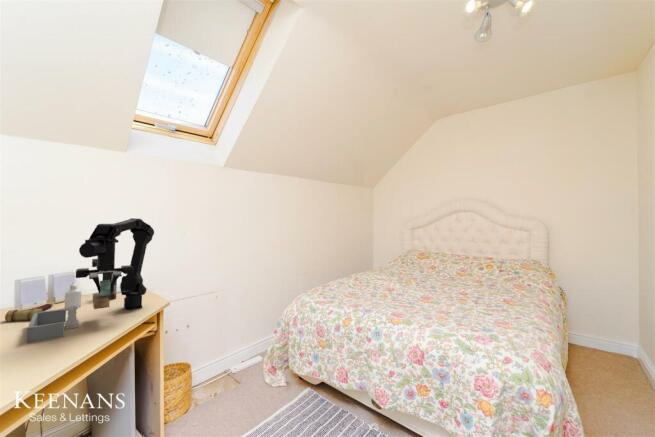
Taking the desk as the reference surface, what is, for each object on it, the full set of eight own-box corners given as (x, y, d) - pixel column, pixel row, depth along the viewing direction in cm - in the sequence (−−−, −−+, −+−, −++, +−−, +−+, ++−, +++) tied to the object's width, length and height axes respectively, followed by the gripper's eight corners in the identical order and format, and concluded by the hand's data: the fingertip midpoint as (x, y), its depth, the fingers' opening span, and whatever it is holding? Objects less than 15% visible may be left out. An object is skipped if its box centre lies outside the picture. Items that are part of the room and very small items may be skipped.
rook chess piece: (70, 324, 115) (70, 304, 115) (82, 324, 115) (82, 304, 115) (60, 329, 110) (61, 308, 110) (73, 329, 111) (73, 308, 111)
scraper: (108, 298, 126) (108, 277, 126) (111, 306, 115) (111, 284, 115) (92, 300, 122) (92, 279, 122) (93, 309, 112) (93, 286, 111)
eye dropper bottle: (67, 306, 135) (67, 281, 135) (82, 305, 138) (83, 280, 138) (63, 309, 131) (63, 283, 131) (78, 308, 134) (79, 282, 134)
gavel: (39, 300, 135) (65, 299, 138) (38, 310, 134) (64, 309, 137) (4, 311, 115) (36, 310, 118) (4, 323, 114) (35, 321, 117)
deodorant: (104, 297, 152) (105, 269, 152) (117, 297, 154) (118, 268, 154) (99, 300, 146) (100, 271, 146) (113, 300, 148) (114, 271, 148)
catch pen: (65, 320, 119) (65, 308, 119) (63, 336, 104) (64, 322, 104) (33, 325, 113) (34, 312, 113) (26, 343, 98) (27, 328, 98)
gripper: (130, 251, 131) (129, 285, 131) (76, 253, 119) (75, 290, 119) (134, 254, 123) (133, 290, 123) (76, 256, 111) (74, 297, 111)
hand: (105, 292), depth 119 cm, fingers closed on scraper, 3 cm apart
